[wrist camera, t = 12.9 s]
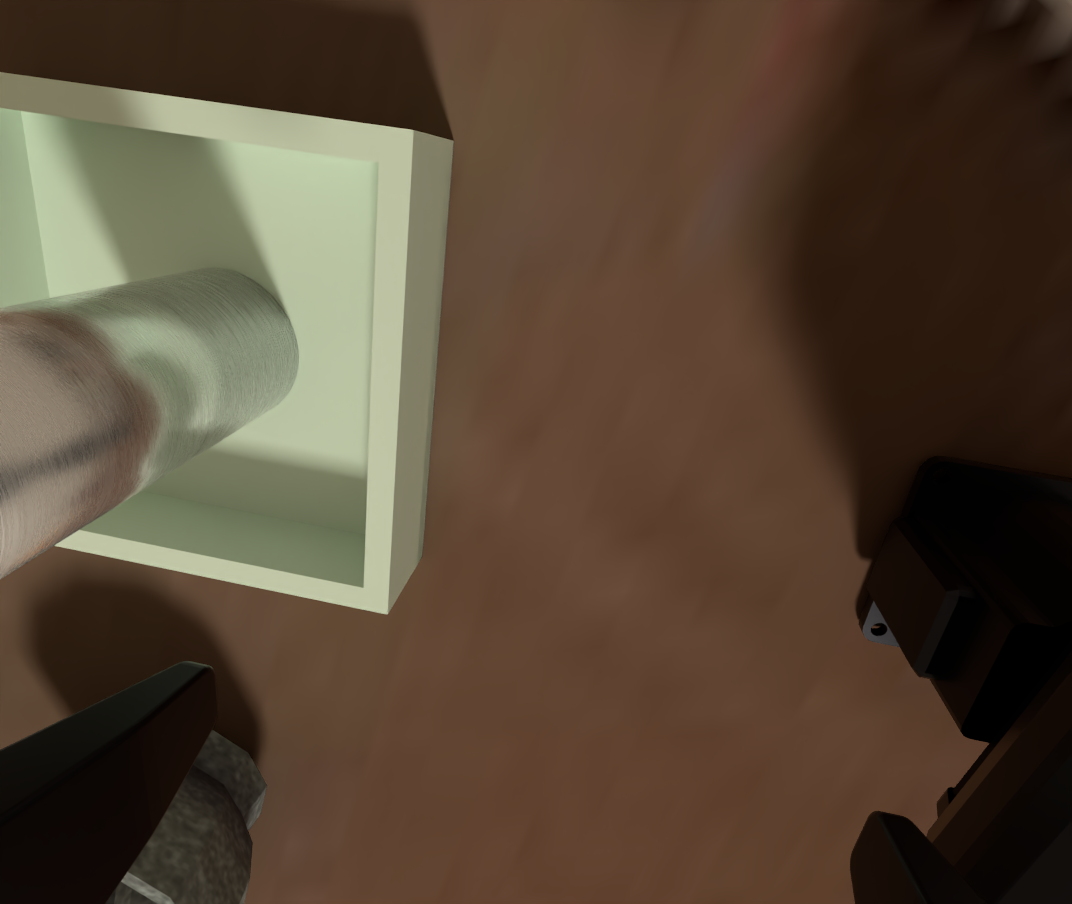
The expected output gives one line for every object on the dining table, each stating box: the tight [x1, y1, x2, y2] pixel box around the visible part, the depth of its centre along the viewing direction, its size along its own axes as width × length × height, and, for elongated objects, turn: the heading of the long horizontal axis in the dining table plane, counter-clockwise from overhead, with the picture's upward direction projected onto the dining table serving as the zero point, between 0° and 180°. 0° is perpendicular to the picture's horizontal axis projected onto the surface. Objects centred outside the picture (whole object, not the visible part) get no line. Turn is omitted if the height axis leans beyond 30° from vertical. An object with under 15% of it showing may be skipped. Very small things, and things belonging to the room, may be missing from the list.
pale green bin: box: [0, 72, 454, 615], centre depth 20 cm, size 14×14×4 cm
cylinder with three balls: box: [0, 268, 299, 579], centre depth 15 cm, size 5×5×13 cm
